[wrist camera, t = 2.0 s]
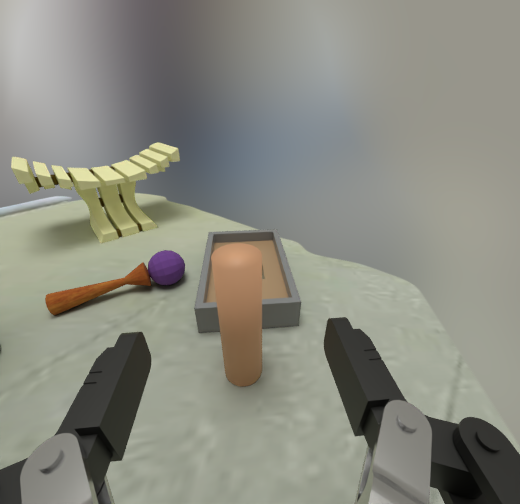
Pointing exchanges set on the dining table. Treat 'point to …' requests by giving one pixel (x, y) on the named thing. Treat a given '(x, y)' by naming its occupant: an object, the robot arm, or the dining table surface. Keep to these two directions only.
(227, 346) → the peg
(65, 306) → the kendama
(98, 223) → the slatted curved stool
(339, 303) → the dining table surface
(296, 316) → the peg box
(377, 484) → the robot arm
